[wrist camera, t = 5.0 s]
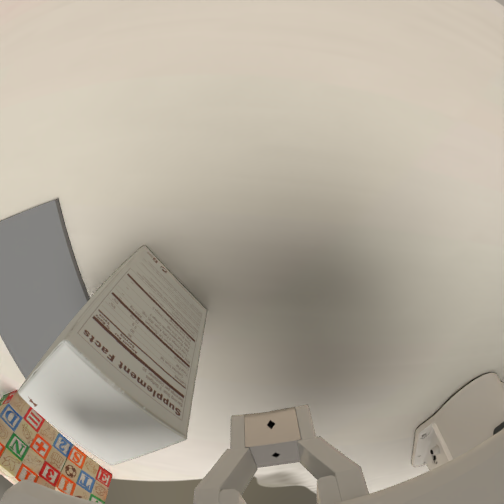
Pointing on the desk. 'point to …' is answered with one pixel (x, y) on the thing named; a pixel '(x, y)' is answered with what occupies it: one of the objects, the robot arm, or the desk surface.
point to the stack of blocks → (45, 454)
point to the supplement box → (124, 365)
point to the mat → (37, 283)
